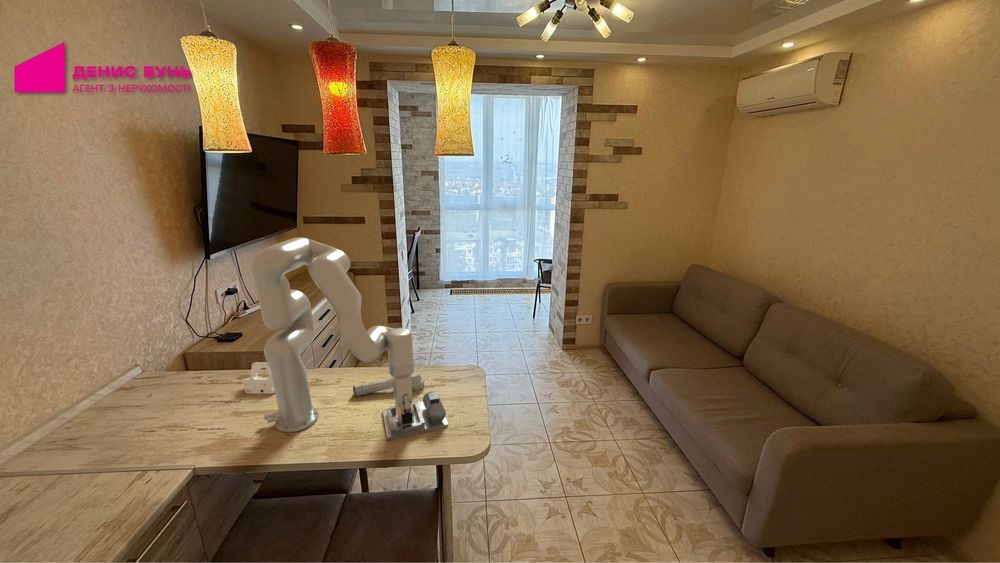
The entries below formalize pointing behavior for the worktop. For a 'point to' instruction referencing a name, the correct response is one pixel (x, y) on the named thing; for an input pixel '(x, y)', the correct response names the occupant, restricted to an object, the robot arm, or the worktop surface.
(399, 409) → the cylinder
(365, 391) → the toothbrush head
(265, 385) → the mounting bracket
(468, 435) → the worktop surface
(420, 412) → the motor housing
